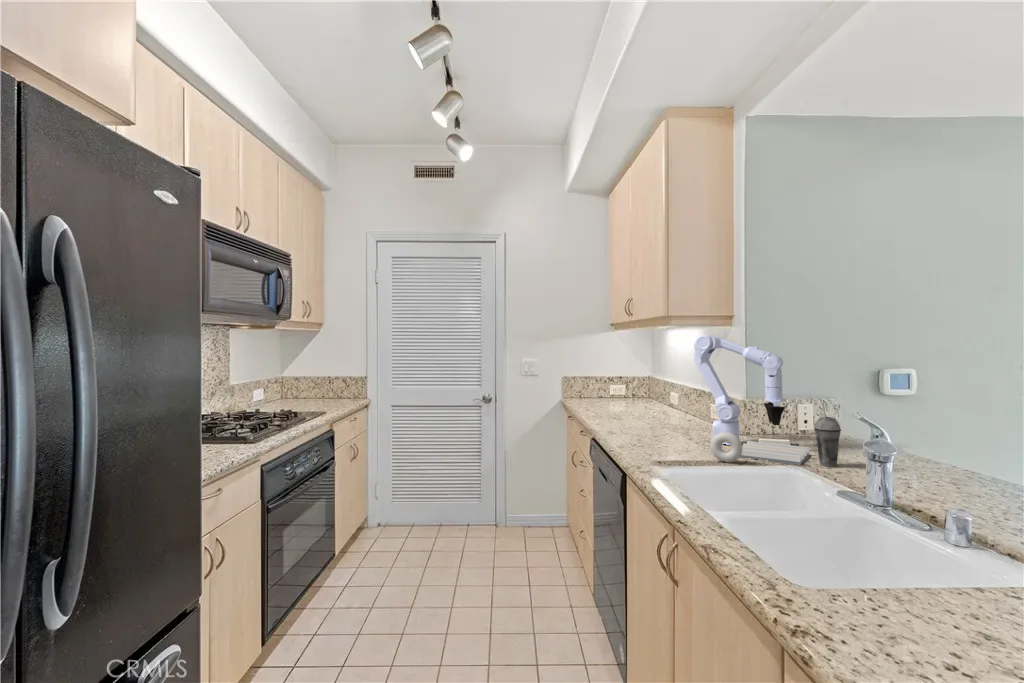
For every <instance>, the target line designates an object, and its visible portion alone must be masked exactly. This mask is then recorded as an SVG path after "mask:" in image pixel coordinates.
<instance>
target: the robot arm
mask: <svg viewBox="0 0 1024 683" xmlns="http://www.w3.org/2000/svg"><path fill="white" fill-rule="evenodd" d="M693 347H694V362H695V365H696V366H697V369H698V370H699V372H700V374H701V375H702V378H703V380H704V382H705V383H706V386H707V387H708V390H709V391H710V393H711V395H712V397H713V398H714V405H715V407H716V413H717V417H718V418H719V419H718V420H717V419H715V420H713V422H712V429H711V430H712V438H713V437H714V436H715V435H717V434H719V433H723V432H727V433H731V434H733V435H735V436H736V437H737V438H738V439H739V440H740V419H739V418H738V417H739V416H740V414H741V408H740V406H739V405H738V404H736V403H735V402H734V400H733V399H732V397H730V396H729V395H728V392H727V391H726V389H725V387H724V385H723V384H722V382H721V380H720V378H719V376H718V374H717V373H716V370H715V368H714V367H713V365H712V363H711V361H710V359H711V356H712V354H713V352H714V351H715V350H716V349H724V350H727V351H730V352H733V353H735V354H737V355H740V356H742V357H743V359H744V360H745V361H747V362H750V363H753V364H754V365H756V366H760V367H763V368H764V370H765V371H764V403H763V405H764V408H765V409H766V414H767V417H768V418H767V419H768V421H769V423H772V426H780V425H781V419H782V416H783V415H782V414H783V413H784V411H785V409H786V406H781V403H782V402H786V401H787V399H786V398H783V374H782V373H783V370H782V367H783V366H784V361H783V360H784V359H782V357H781V356H780V355H778V354H774V353H773V354H772V352H770V351H766V350H762V349H760V348H759V346H757V345H754V346H748V347H745V346H742V345H740V344H738V343H736V342H734V341H731V340H729V339H726V338H724V337H720V336H715V335H712V334H709V335H707V334H701V335H699V336H698V337H696V340H695V342H694V343H693ZM740 442H741V443H742V444H744V443H743V441H742V440H740ZM723 444H726V445H727V446H731V445H730V444H729V443H727V442H724V443H722V445H723ZM726 445H725V446H726Z"/></svg>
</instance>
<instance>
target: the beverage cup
mask: <svg viewBox="0 0 1024 683" xmlns="http://www.w3.org/2000/svg"><path fill="white" fill-rule="evenodd" d="M821 406H822V413H823V416H821V417H820V418H818V420H816V422H815V424H814V428H813V429H814V434H815V437H816V444H817V454H818V460H819V465H820V466H821V467H826V468H837V467H838V466H837V465H838V459H839V458H838V456H839V446H840V443H839V442H840V438H841V432H842V429H841V424H840V423H839V422H838V420H836V419H835V418H833V417H830V416H826V411H825V403H824V402H821Z"/></svg>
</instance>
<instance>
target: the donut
mask: <svg viewBox="0 0 1024 683" xmlns="http://www.w3.org/2000/svg"><path fill="white" fill-rule="evenodd" d="M740 441H741V440H740V438H739V439H738V438H737V437H736V436H735V435H733V434H731V433H727V432H723V433H719V434H717V435H715V436H714V437H713V436H712V438H711V441H710V445H709V446H710V451H711V453H712V455H713V457H715V458H716V459H717V460H719V461H720V460H721V462H723V461H725V462H724V463H733V462H736V461H738V459H741V458H740V456H741V454H742V450H743V448H742V446H743V443H741V442H742V441H741V442H740ZM724 442H727V443H729V444H730V445H729V446H731V449H730V451H727V452H726V451H724V450H723V449H722V445H723V444H722V443H724Z"/></svg>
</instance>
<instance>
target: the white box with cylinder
mask: <svg viewBox="0 0 1024 683" xmlns="http://www.w3.org/2000/svg"><path fill="white" fill-rule="evenodd" d="M758 442H762V443H772V444H781V445H791V446H800V444H799V443H796V442H795V443H794V442H793V443H791V440H790V439H782V438H781V439H779V438H778V439H777V438H776V439H775V438H758Z"/></svg>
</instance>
